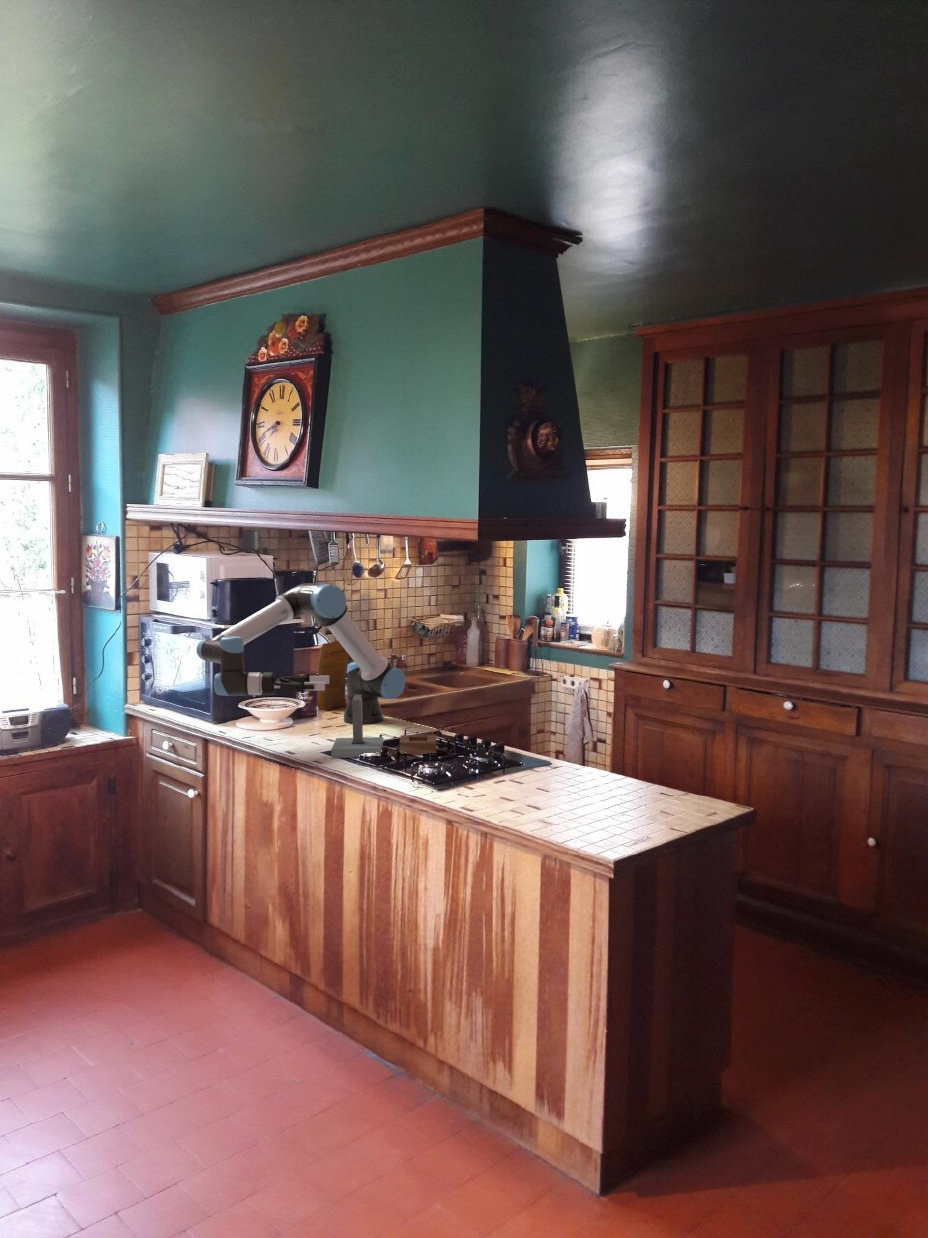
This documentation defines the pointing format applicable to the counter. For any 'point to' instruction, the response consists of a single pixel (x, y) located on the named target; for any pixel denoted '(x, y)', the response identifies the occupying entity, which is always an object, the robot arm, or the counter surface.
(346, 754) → the cover plate
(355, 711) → the t key
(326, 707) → the pancake mix bag
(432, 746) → the block
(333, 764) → the counter surface
